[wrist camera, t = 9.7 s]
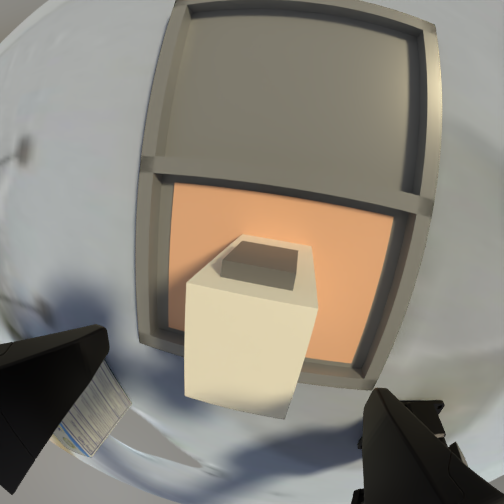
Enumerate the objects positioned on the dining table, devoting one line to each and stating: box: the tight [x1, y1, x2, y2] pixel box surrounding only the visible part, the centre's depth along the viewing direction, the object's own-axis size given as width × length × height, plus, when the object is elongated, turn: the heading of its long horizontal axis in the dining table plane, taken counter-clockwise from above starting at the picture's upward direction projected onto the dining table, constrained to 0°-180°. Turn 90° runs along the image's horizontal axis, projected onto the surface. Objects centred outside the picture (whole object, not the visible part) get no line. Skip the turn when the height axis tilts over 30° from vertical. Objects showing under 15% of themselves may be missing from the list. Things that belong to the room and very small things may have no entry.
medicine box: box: [53, 360, 132, 457], centre depth 18 cm, size 8×4×9 cm, turn 18°
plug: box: [184, 234, 318, 419], centre depth 12 cm, size 6×4×8 cm
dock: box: [136, 0, 442, 390], centre depth 14 cm, size 25×17×2 cm
